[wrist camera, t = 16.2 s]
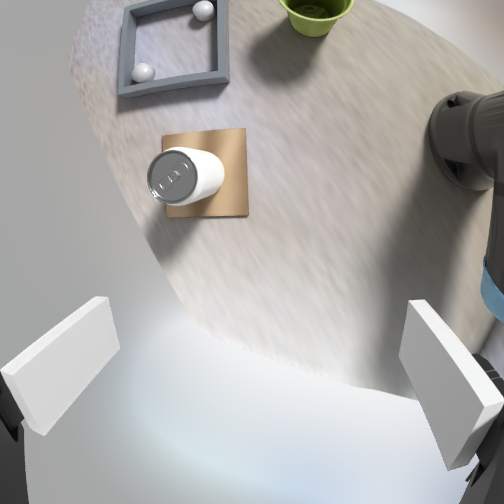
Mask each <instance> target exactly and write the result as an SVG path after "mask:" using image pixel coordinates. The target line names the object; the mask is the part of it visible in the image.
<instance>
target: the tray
mask: <svg viewBox="0 0 504 504" xmlns="http://www.w3.org/2000/svg"><path fill="white" fill-rule="evenodd" d="M211 1H217V41H218V71H211V72H203V73H196V74H189V75H182V76H176V77H170V78H165V79H160V80H154V81H152V80H153V79H154V76H155V71H154V69H153V68H152V67H150V66H149V65H147V64H145V63H141V64H138V65H137V66H135V67H134V55H135V39H136V27H137V17H141V16H144V15H148V14H152V13H156V12H160V11H164V10H168V9H173V8H177V7H182V6H187V5H193V4H195V5H194V7H193V13H194V14H195V16H196V17H197V19H198V20H200V21H209V20H211V19H212V18H213V17H214V16H215V13H216V11H215V9H214V7H213V5H212V3H211ZM133 80H134V81H136V82H138V83H140V84H136V85H133ZM219 83H230V74H229V30H228V0H148V1H145V2H141V3H138V4H134V5H131V6H128V7H125V8H124V15H123V24H122V34H121V45H120V58H119V77H118V95H120V96H122V97H125V98H131V97H136V96H141V95H146V94H151V93H156V92H162V91H168V90H174V89H180V88H187V87H194V86H202V85H210V84H219Z"/></svg>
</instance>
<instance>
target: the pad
mask: <svg viewBox="0 0 504 504" xmlns="http://www.w3.org/2000/svg"><path fill="white" fill-rule="evenodd" d="M173 147H185V148H192V149H197V150H202V151H207V152H210V153H212V154H214V155H215V156H216V157H218V158H219V160H220V161H221V162H222V164H223V167H224V181H223V183H222V185H221V187H220V188H219V190H218V191H217V192H215V193H214V194H212V195H210V196H208V197H206V198H203V199H200V200H198V201H195V202H192V203H190V204H187V205H183V206H172V205H168V204H166V203H165V204H166V217H167V218H173V217H200V216H236V215H249V205H248V178H247V151H246V128H239V129H224V130H211V131H200V132H191V133H182V134H173V135H165V136H162V151H165V150H167V149H169V148H173Z"/></svg>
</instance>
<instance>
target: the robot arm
mask: <svg viewBox="0 0 504 504" xmlns="http://www.w3.org/2000/svg"><path fill="white" fill-rule="evenodd" d="M429 139H430V145H431V149H432V153H433V155H434V158H435V160H436V162H437V164H438V166H439V168H440V169H441V171H442V172H443V173H444V175H445V176H446V177H447V178H448V179H449V180H450V181H451V182H453V183H454V184H456V185H457V186H459V187H462V188H465V189H470V190H477V191H479V190H486V189H489V188H491V187H494V190H493V202H492V212H491V221H490V229H489V236H488V242H487V249H486V254H485V257H484V259H483V268H484V269H483V275H482V281H481V295H482V297H483V299H484V303H485V305H486V306H487V308H488V309H489V310H490V311H491V313H492V314H493V315H494V316H495V317H496V318H498V319H499V320H500V321H501V322H503V323H504V91H501V92H497V93H494V94H491V95H488V96H485V95H481V94H477V93H473V92H467V91H463V92H456V93H454V94H451V95H448V96H446V97H445V98H443V99H442V100H441V101H440V102H439V103H438V104H437V105H436V107H435V109H434V111H433V113H432V116H431V119H430V125H429ZM119 349H120V346H119V342H118V338H117V334H116V330H115V326H114V322H113V317H112V313H111V309H110V304H109V300H108V297H97V296H96V297H94V298H93V299H91V300H90V301H88V302H87V303H86V304H84V305H83V306H82V307H80V308H79V309H78V310H77V311H75V312H73V313H72V314H71V315H69V316H68V317H67V318H66V319H64V320H63V321H62V322H60V323H59V324H58V325H56V326H55V327H54V328H52V329H51V330H50V331H48V332H47V333H46V334H44V335H43V336H42V337H41V338H39V339H38V340H37V341H35V342H34V343H33V344H32V345H30V346H29V347H28V348H27V349H25V350H24V351H23V352H22V353H20V354H19V355H18V356H17V357H15V358H14V359H13V360H12V361H10V362H9V363H8V364H7V365H6V366H4V367H3V368H2V369H1V370H0V504H29V501H28V493H27V484H26V472H25V456H24V429H23V426H22V424H21V423H20V422H21V421H22V420H23V419H24V418H25V420H26V422H27V423H28V425H29V427H30V428H31V430H33V431H35V432H37V433H39V434H41V435H43V436H45V435H46V434H47V433H48V431H49V430H50V429H51V427H53V425H54V424H55V423H56V422H57V420H58V419H59V418H60V417H61V416H62V415H63V413H64V412H65V411H66V410H67V409H68V408H69V406H70V405H71V404H72V403H73V402H74V400H75V399H76V398H77V397H78V396H79V394H80V393H81V392H82V391H83V390H84V389H85V388H86V386H87V385H88V384H89V383H90V382H91V381H92V380H93V378H94V377H95V376H96V375H97V374H98V373H99V372H100V370H101V369H102V368H103V367H104V366H105V365H106V364H107V362H108V361H109V360H110V359H111V358H112V357H113V356H114V355H115V353H116V352H117V351H118V350H119ZM398 357H399V359H400V361H401V363H402V365H403V367H404V369H405V371H406V373H407V376H408V378H409V380H410V382H411V384H412V386H413V388H414V391H415V393H416V395H417V397H418V400H419V402H420V404H421V406H422V408H423V411H424V413H425V415H426V417H427V420H428V423H429V425H430V427H431V430H432V432H433V435H434V437H435V439H436V442H437V444H438V447H439V449H440V452H441V455H442V457H443V460H444V462H445V465H446V468H447V470H448V471H449V470H452V469H456V468H459V467H462V466H465V465H468V464H469V462H470V461H471V459H472V458H473V456H474V455H475V453H476V454H477V456H478V458H479V462H478V464H477V465H476V467H475V468H474V469H473V471H472V472H471V473H470V475H469V476H468V478H467V479H466V481H467V482H468V481H469V480H470V481H469V484H468V486H467V488H466V490H465V493H464V495H463V497H462V499H461V501H460V503H459V504H504V380H503V379H502V378H500V375H499V374H498V373H497V372H496V371H494V368H493V367H492V365H491V364H490V363H489V362H488V360H486V359H485V358H483V357H482V356H480V355H478V354H477V353H476V354H470V352H469V351H468V350H467V349H466V347H465V346H464V345H463V344H462V343H461V341H460V340H459V339H458V338H457V337H456V335H455V334H454V333H453V332H452V331H451V329H450V328H449V327H448V326H447V325H446V323H445V322H444V321H443V320H442V319H441V318H440V316H439V315H438V314H437V313H436V312H435V311H434V310H433V309H432V307H431V306H430V305H429V304H428V303H427V302H426V301H425V300H409V301H408V307H407V313H406V319H405V325H404V330H403V335H402V340H401V345H400V350H399V355H398ZM470 478H471V479H470Z"/></svg>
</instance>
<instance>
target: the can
mask: <svg viewBox="0 0 504 504" xmlns="http://www.w3.org/2000/svg"><path fill="white" fill-rule="evenodd" d="M223 181H224V167H223V164H222V162H221V161H220V160H219V158H218V157H216V156H215V155H214V154H212V153H210V152H207V151H202V150H197V149H192V148H185V147H173V148H169V149H167V150H165V151H163V152H162V153H160V154H159V155H157V156H156V157H155V158H154V159H153V161H152V162H151V164H150V166H149V169H148V173H147V182H148V186H149V189H150V191H151V193H152V194H153V195H154V197H155V198H157V199H158V200H159V201H161V202H163V203H166V204H168V205H172V206H183V205H187V204H190V203H192V202H195V201H198V200H200V199H203V198H206V197H208V196H210V195H212V194H214V193H215V192H217V191H218V190H219V188H220V187H221V185H222V183H223Z"/></svg>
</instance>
